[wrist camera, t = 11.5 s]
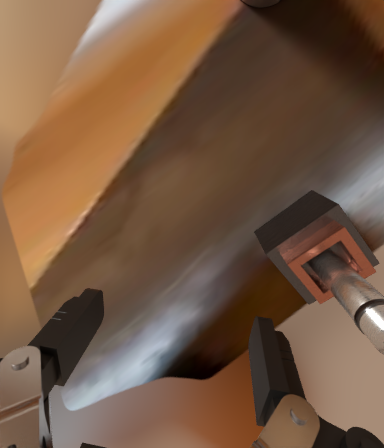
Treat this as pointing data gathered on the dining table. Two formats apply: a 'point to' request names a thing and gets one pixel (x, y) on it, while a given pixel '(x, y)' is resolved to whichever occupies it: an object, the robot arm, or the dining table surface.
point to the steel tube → (352, 295)
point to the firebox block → (313, 243)
